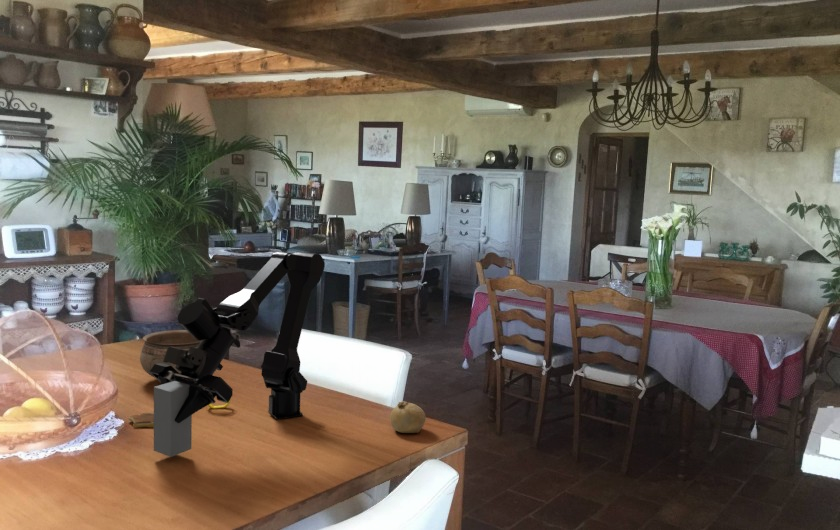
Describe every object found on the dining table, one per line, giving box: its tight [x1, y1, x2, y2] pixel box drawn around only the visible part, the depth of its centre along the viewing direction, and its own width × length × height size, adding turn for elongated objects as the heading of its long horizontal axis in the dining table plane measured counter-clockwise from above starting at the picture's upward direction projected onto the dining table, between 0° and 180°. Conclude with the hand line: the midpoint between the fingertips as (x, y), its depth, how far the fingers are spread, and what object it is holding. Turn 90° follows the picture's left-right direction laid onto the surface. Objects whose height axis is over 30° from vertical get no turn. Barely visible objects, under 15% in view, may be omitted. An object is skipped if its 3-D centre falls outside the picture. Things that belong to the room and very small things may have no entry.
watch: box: [207, 398, 232, 410], centre depth 171 cm, size 6×3×6 cm, turn 101°
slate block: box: [153, 381, 193, 458], centre depth 139 cm, size 5×5×13 cm
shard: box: [128, 412, 154, 429], centre depth 158 cm, size 11×8×2 cm
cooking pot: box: [139, 329, 202, 381], centre depth 191 cm, size 25×19×12 cm
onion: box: [389, 400, 427, 434], centre depth 160 cm, size 8×8×7 cm
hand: (167, 419), depth 138 cm, fingers closed on slate block, 5 cm apart
